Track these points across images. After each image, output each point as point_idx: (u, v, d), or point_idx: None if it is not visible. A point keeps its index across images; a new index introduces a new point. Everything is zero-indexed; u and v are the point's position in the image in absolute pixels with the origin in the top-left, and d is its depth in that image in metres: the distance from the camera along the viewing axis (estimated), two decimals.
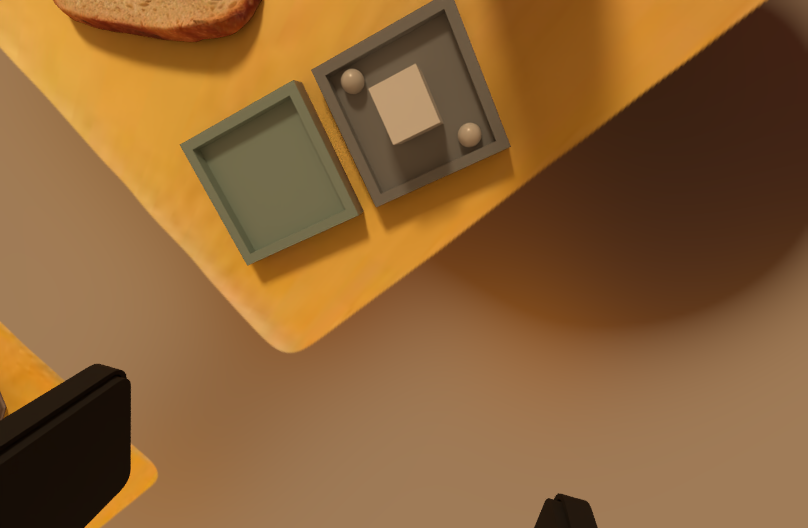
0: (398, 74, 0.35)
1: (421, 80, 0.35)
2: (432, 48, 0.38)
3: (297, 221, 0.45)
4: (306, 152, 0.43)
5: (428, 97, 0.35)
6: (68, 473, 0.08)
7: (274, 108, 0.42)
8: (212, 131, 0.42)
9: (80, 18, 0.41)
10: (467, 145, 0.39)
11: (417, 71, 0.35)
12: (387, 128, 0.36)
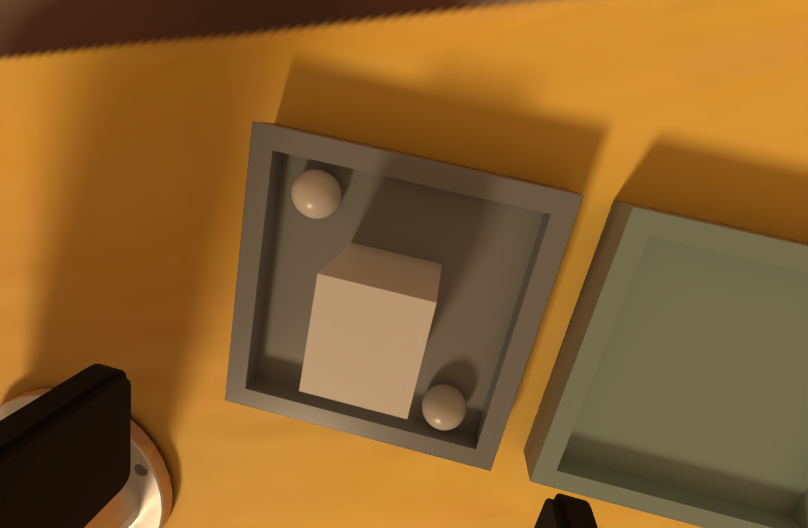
0: (338, 398, 0.17)
1: (306, 361, 0.16)
2: (299, 351, 0.22)
3: (764, 283, 0.18)
4: (615, 374, 0.20)
5: (311, 328, 0.16)
6: (68, 473, 0.08)
7: (598, 464, 0.22)
8: None
9: None
10: (326, 180, 0.18)
11: (303, 378, 0.17)
12: (424, 337, 0.15)
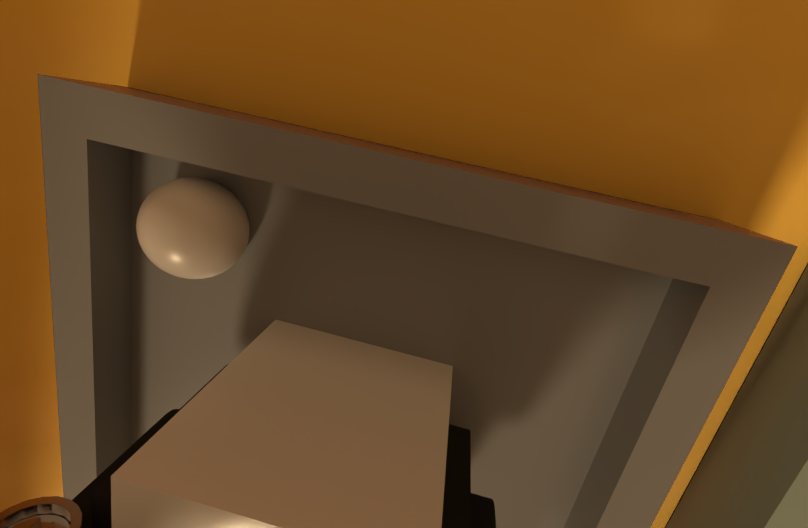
0: None
1: None
2: None
3: None
4: None
5: None
6: None
7: None
8: None
9: None
10: (205, 203, 0.08)
11: None
12: None
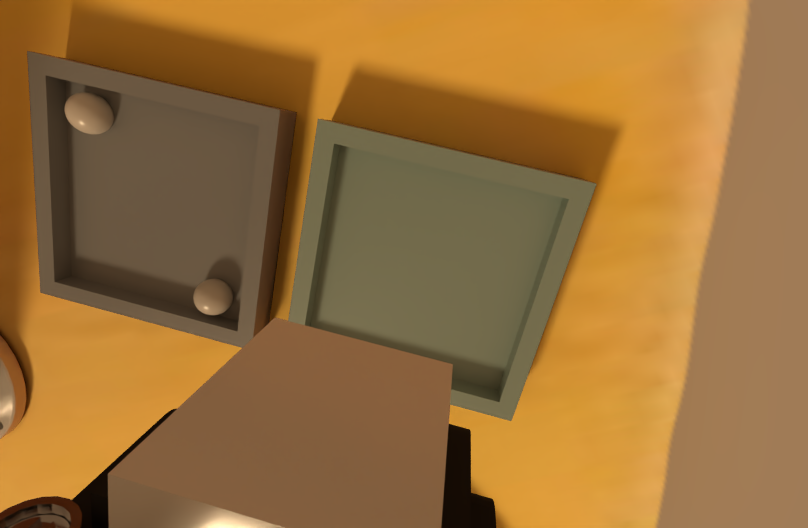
0: None
1: None
2: (102, 253, 0.27)
3: (442, 186, 0.23)
4: (345, 268, 0.25)
5: None
6: None
7: None
8: None
9: None
10: (90, 100, 0.23)
11: None
12: None
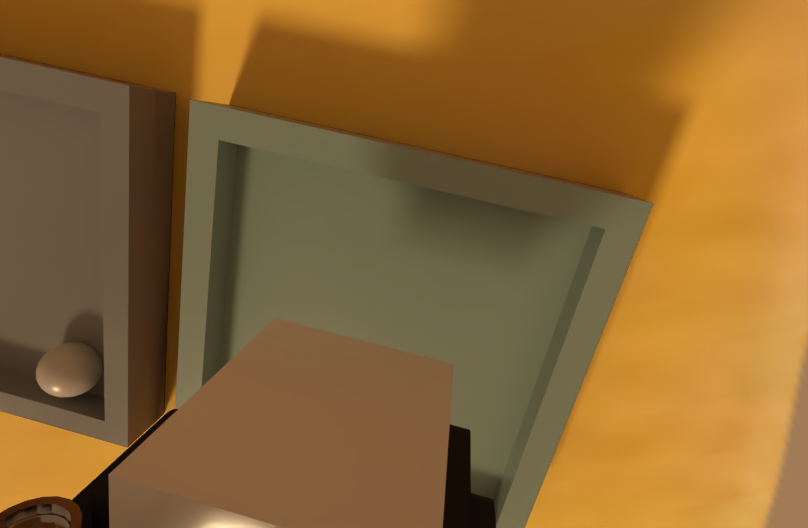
0: None
1: None
2: None
3: (400, 207, 0.14)
4: (259, 328, 0.16)
5: None
6: None
7: None
8: None
9: None
10: None
11: None
12: None
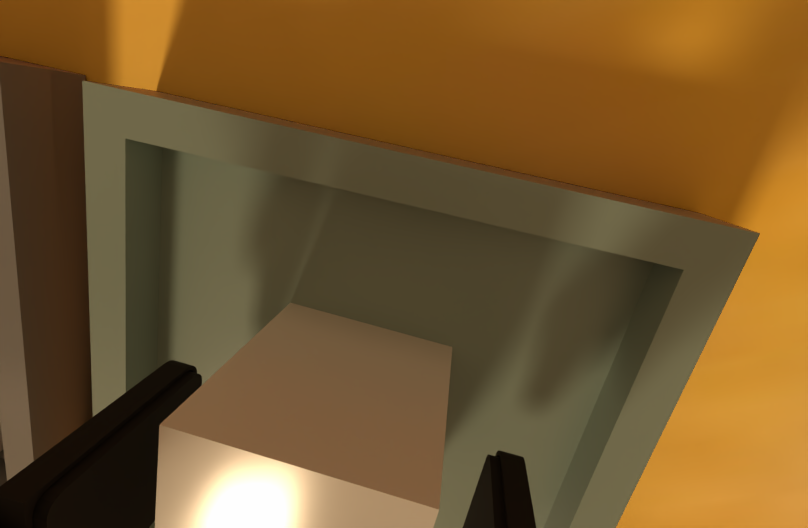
0: None
1: None
2: None
3: (385, 231, 0.10)
4: None
5: None
6: (153, 461, 0.09)
7: None
8: None
9: None
10: None
11: None
12: None
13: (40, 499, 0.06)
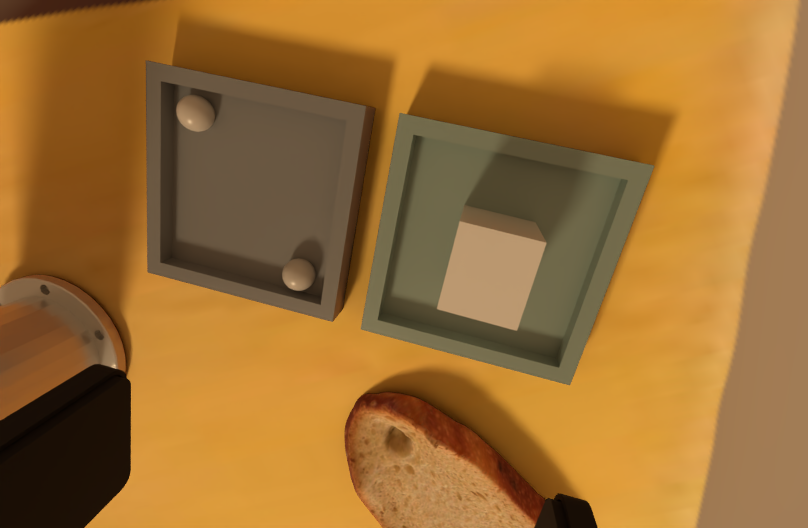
0: (466, 314, 0.23)
1: (444, 286, 0.23)
2: (199, 236, 0.30)
3: (509, 171, 0.25)
4: (417, 247, 0.27)
5: (451, 261, 0.22)
6: (68, 473, 0.08)
7: (415, 320, 0.29)
8: (509, 363, 0.27)
9: None
10: (198, 101, 0.26)
11: (441, 299, 0.23)
12: (535, 269, 0.21)
13: None
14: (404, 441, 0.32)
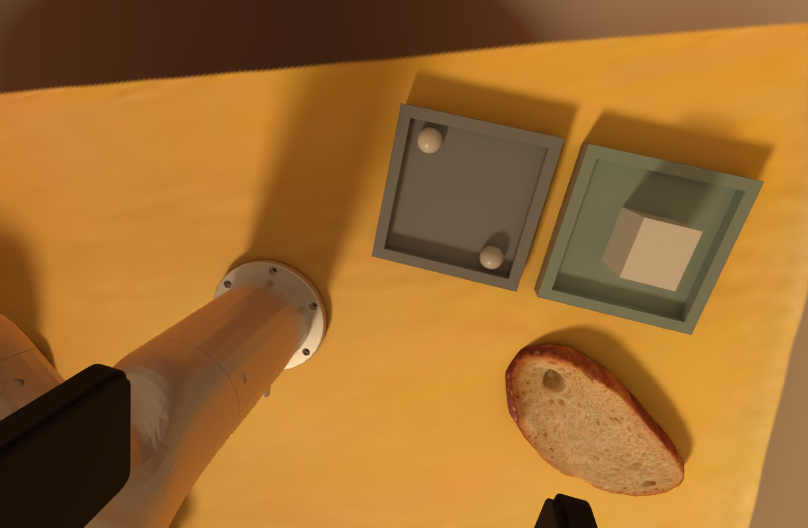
0: (640, 280, 0.34)
1: (627, 261, 0.34)
2: (412, 229, 0.40)
3: (657, 184, 0.36)
4: (583, 237, 0.38)
5: (634, 244, 0.33)
6: (68, 473, 0.08)
7: (575, 290, 0.40)
8: (648, 319, 0.38)
9: (676, 457, 0.42)
10: (436, 132, 0.37)
11: (624, 270, 0.34)
12: (693, 249, 0.33)
13: None
14: (557, 381, 0.43)
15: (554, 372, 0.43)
